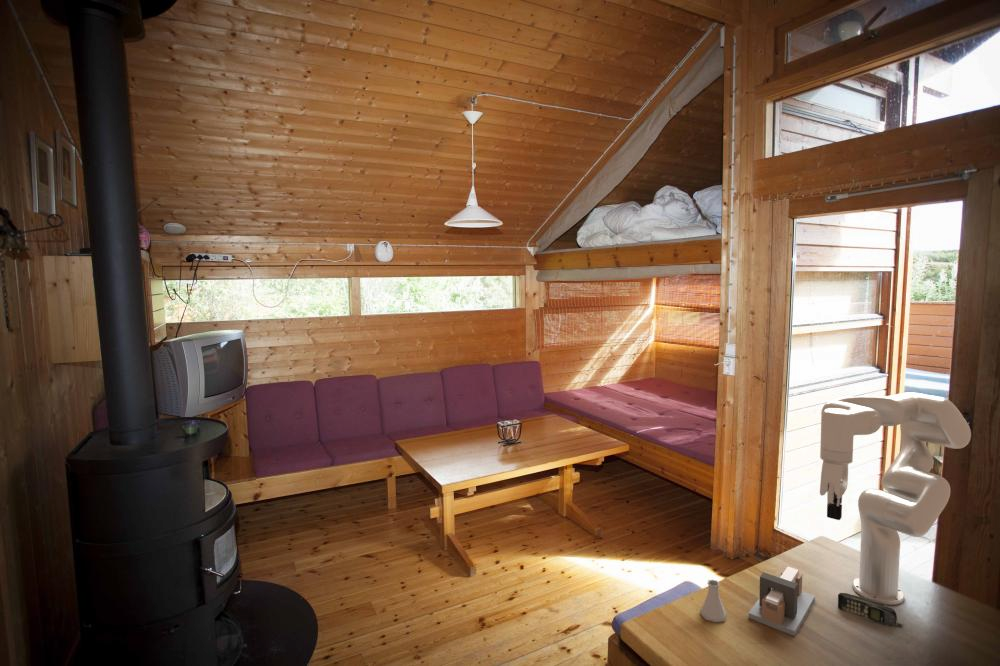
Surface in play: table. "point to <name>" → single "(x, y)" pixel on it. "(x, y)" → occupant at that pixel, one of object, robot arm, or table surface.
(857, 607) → the mobile phone
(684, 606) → the table surface
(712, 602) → the flask
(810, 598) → the pipe stand
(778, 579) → the collar
